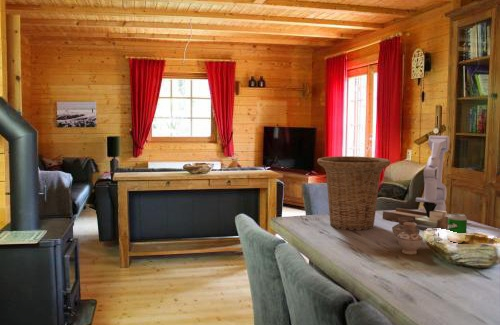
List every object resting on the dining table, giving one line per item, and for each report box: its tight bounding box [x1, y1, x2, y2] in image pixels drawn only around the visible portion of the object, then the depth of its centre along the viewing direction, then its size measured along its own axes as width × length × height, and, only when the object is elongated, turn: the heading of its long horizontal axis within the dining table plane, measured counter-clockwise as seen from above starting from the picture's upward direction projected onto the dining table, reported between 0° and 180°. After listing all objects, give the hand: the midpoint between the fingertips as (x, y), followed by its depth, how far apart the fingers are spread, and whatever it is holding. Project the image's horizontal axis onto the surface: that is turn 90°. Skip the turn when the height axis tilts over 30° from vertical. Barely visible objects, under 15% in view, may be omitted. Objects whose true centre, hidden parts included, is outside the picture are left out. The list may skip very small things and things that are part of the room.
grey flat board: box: [413, 222, 437, 231], centre depth 240 cm, size 29×12×2 cm, turn 133°
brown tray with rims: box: [382, 207, 448, 229], centre depth 246 cm, size 16×32×4 cm, turn 43°
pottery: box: [391, 217, 424, 255], centre depth 197 cm, size 11×25×12 cm, turn 168°
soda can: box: [447, 212, 468, 234], centre depth 206 cm, size 8×8×12 cm
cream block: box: [429, 210, 448, 222], centre depth 237 cm, size 6×6×4 cm
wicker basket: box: [316, 155, 391, 231], centre depth 236 cm, size 35×35×33 cm
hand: (429, 217), depth 241 cm, fingers closed
